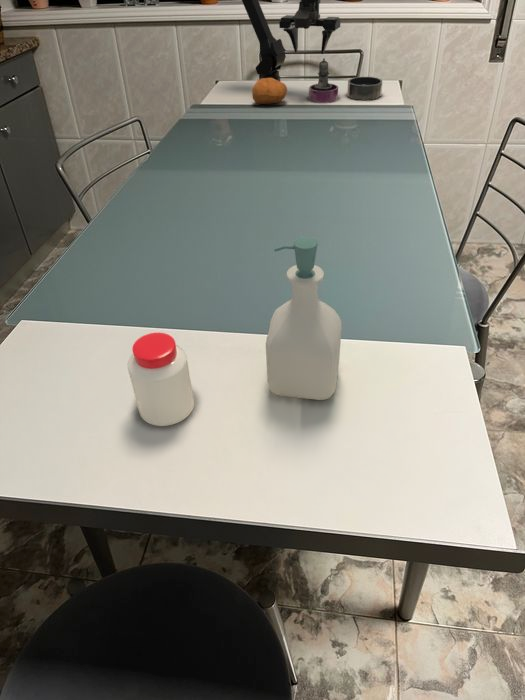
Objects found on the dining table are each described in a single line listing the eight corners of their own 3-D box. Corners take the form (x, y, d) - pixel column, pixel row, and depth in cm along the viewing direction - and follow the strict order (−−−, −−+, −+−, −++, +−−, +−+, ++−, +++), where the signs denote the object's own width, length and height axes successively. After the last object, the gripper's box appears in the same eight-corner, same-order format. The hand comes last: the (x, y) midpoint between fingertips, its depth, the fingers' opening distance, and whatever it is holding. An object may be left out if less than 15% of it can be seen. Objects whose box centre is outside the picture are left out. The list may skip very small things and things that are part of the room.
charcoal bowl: (342, 98, 184) (343, 84, 181) (352, 89, 192) (353, 75, 189) (375, 101, 180) (377, 87, 177) (384, 92, 188) (386, 77, 185)
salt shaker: (314, 94, 188) (315, 55, 180) (332, 94, 187) (333, 55, 179) (313, 99, 183) (313, 60, 176) (330, 100, 182) (332, 60, 175)
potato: (256, 98, 188) (255, 74, 183) (289, 99, 186) (289, 75, 181) (250, 107, 181) (249, 82, 176) (284, 107, 179) (284, 83, 174)
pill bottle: (198, 387, 80) (189, 327, 73) (188, 427, 74) (176, 366, 67) (146, 385, 81) (132, 326, 74) (132, 424, 75) (115, 364, 68)
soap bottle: (276, 356, 85) (273, 220, 70) (339, 362, 83) (349, 224, 69) (265, 400, 78) (258, 259, 63) (333, 407, 76) (342, 264, 62)
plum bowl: (304, 101, 183) (304, 90, 181) (314, 93, 190) (314, 82, 188) (332, 103, 180) (332, 92, 178) (341, 95, 187) (342, 84, 185)
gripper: (271, 0, 168) (273, 57, 178) (330, 1, 161) (328, 60, 172) (285, -6, 175) (286, 49, 185) (342, -5, 169) (339, 52, 179)
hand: (309, 53), depth 180 cm, fingers open, 9 cm apart
